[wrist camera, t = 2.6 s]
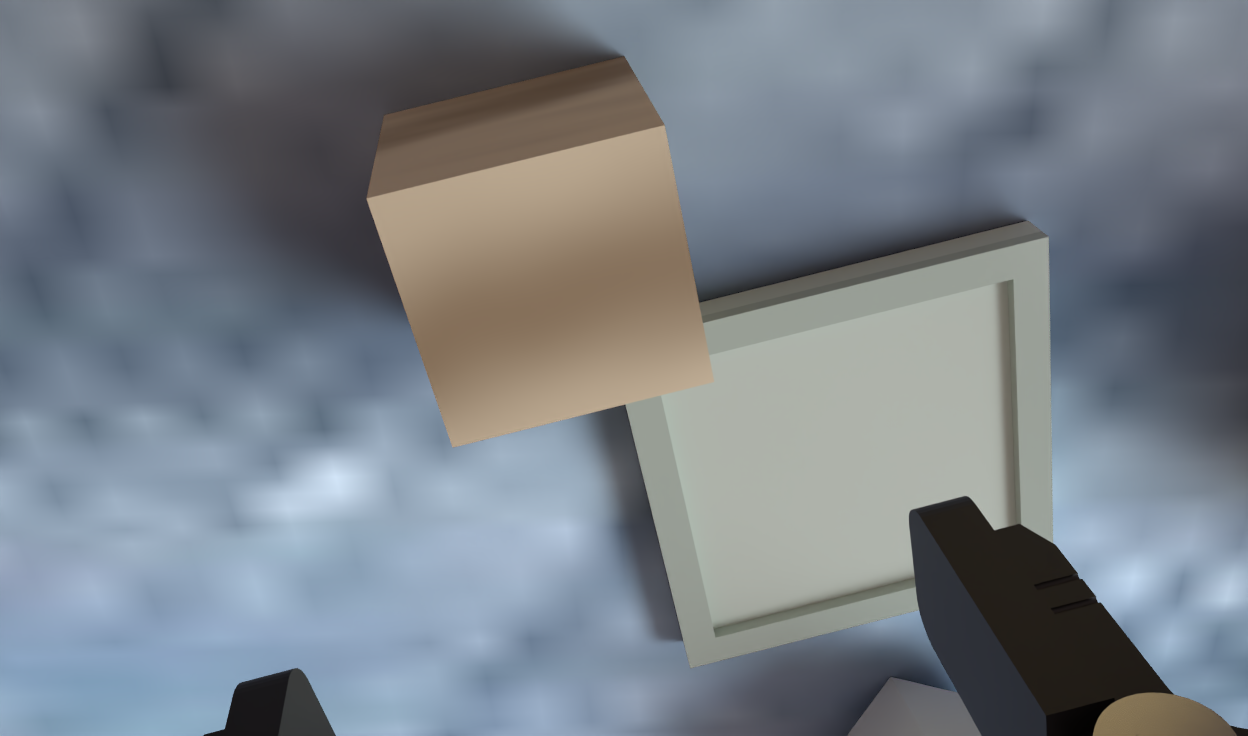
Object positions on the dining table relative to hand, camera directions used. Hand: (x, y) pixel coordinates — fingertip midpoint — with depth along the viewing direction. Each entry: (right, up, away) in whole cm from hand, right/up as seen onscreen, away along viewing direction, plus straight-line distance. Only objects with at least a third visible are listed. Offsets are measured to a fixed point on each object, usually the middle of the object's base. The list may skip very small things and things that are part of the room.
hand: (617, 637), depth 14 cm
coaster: (+7, +1, +19) cm, 20 cm away
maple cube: (-2, +8, +14) cm, 16 cm away
